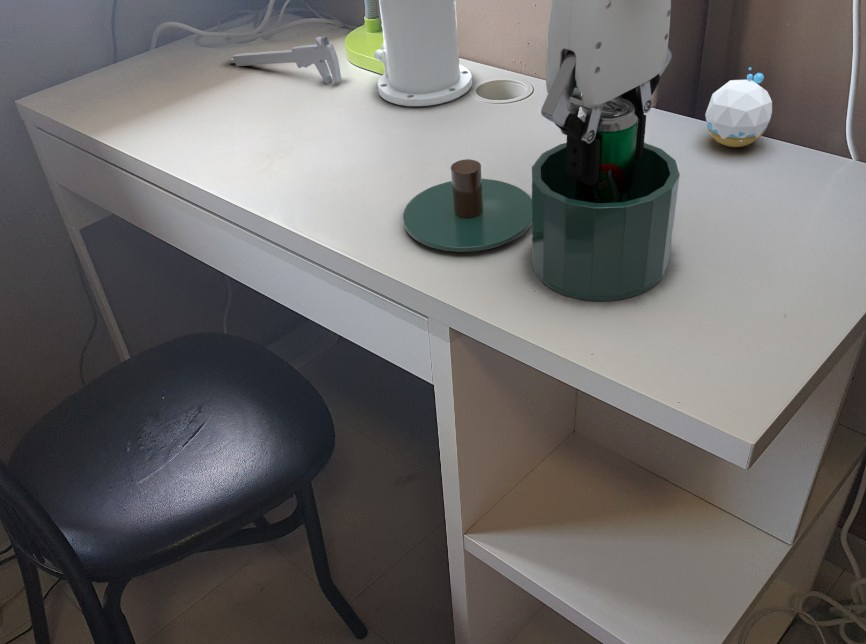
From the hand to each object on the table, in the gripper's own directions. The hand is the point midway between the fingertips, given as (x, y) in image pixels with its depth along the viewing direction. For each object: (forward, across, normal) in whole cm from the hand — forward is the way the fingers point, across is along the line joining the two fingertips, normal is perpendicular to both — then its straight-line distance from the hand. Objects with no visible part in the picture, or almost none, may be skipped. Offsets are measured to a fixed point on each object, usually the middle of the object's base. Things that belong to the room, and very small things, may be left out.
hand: (604, 164), depth 73 cm
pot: (+10, 0, 0) cm, 10 cm away
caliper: (+10, -6, -64) cm, 65 cm away
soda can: (+7, 0, 0) cm, 7 cm away
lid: (+9, +3, -15) cm, 18 cm away
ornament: (+10, -28, -4) cm, 30 cm away
